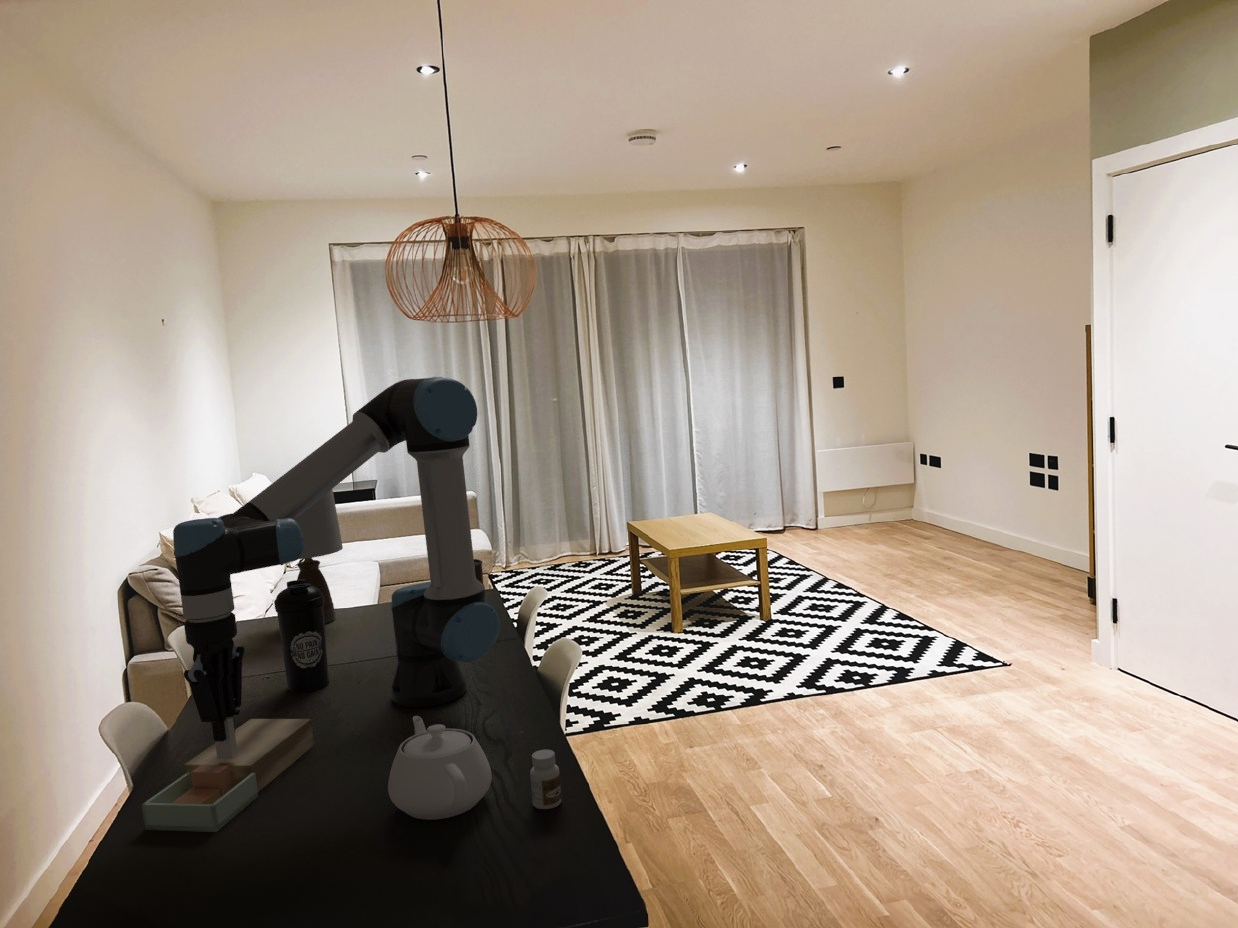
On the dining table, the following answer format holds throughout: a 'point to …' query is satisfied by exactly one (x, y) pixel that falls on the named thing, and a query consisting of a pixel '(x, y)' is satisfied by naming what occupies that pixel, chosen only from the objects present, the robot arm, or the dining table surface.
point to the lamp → (319, 545)
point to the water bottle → (303, 636)
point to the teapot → (438, 772)
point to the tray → (196, 807)
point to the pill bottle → (545, 780)
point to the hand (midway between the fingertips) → (227, 756)
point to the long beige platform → (261, 749)
